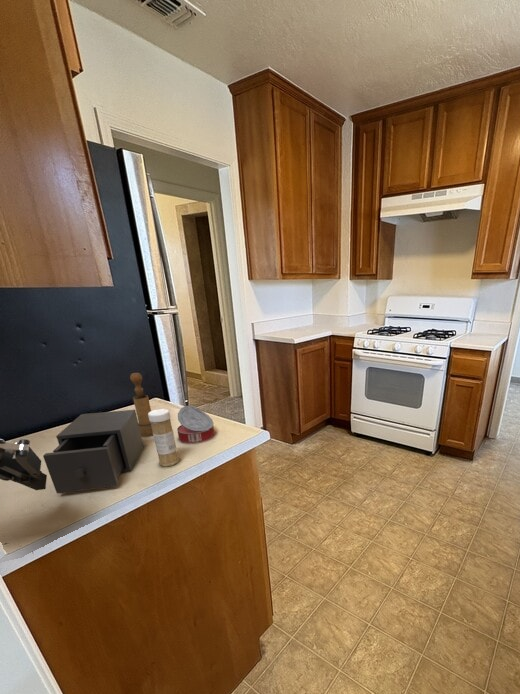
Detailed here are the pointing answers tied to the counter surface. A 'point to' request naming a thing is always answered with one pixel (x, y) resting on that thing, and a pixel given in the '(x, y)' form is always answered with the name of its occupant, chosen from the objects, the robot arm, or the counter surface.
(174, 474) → the counter surface
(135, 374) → the mortar and pestle
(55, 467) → the pull-out drawer box
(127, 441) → the small drawer cabinet
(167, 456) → the sprinkles bottle
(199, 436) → the canned food
